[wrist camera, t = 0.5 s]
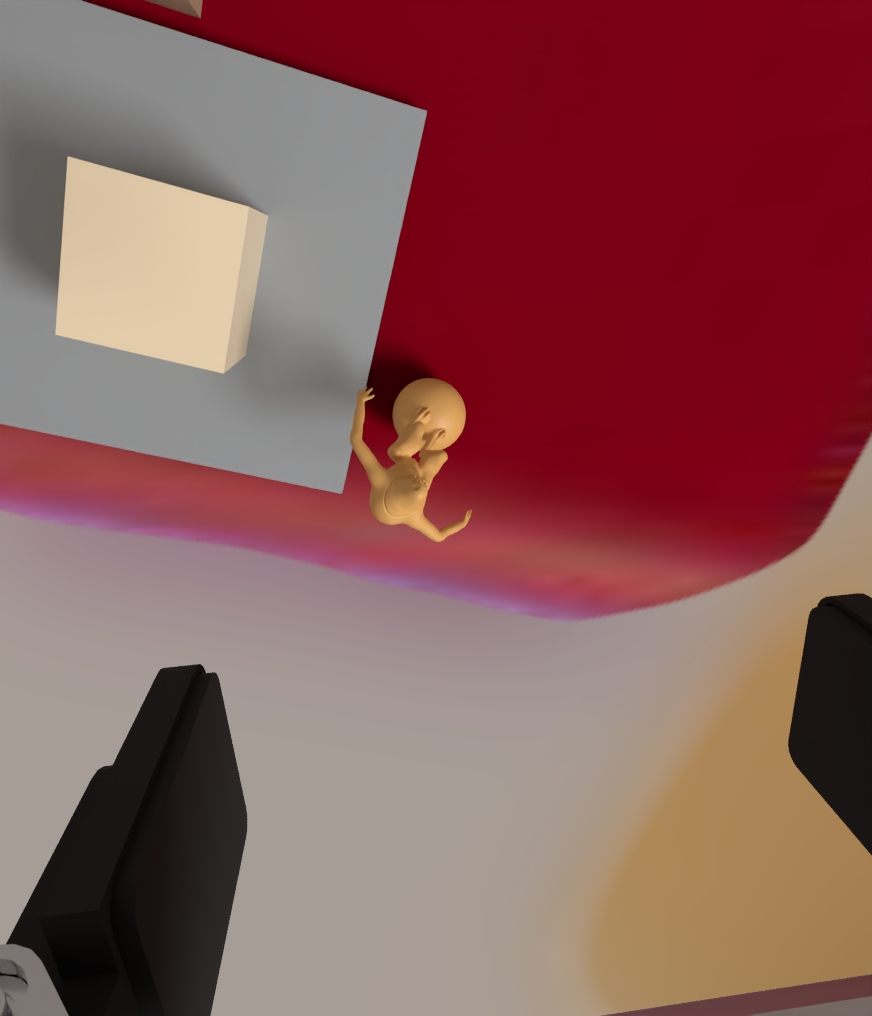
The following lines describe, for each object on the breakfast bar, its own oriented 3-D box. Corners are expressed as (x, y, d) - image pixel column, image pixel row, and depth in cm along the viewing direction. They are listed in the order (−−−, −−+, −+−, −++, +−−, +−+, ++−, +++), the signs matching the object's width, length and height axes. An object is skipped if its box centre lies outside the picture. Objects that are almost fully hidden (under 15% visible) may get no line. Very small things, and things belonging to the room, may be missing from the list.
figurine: (495, 441, 39) (548, 513, 28) (415, 502, 40) (436, 596, 29) (408, 326, 36) (429, 356, 25) (324, 394, 37) (308, 453, 26)
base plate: (-13, -25, 29) (-121, -106, 23) (425, 115, 33) (441, 79, 26) (-27, 411, 36) (-114, 446, 29) (342, 488, 39) (338, 534, 33)
